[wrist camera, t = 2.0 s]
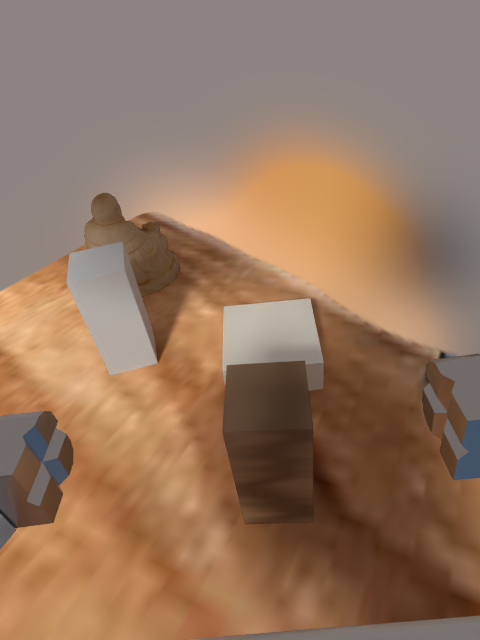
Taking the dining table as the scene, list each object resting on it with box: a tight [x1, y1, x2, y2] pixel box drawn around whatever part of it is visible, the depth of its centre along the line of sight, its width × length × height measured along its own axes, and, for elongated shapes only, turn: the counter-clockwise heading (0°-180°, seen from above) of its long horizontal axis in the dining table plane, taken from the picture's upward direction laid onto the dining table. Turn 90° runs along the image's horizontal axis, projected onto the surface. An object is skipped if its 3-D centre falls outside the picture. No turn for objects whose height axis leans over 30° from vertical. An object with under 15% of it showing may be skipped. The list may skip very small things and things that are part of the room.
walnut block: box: [223, 360, 313, 524], centre depth 30 cm, size 5×5×12 cm
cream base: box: [222, 298, 324, 390], centre depth 43 cm, size 9×9×4 cm
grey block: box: [66, 241, 158, 375], centre depth 43 cm, size 5×5×12 cm
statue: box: [85, 193, 180, 296], centre depth 54 cm, size 12×14×10 cm
